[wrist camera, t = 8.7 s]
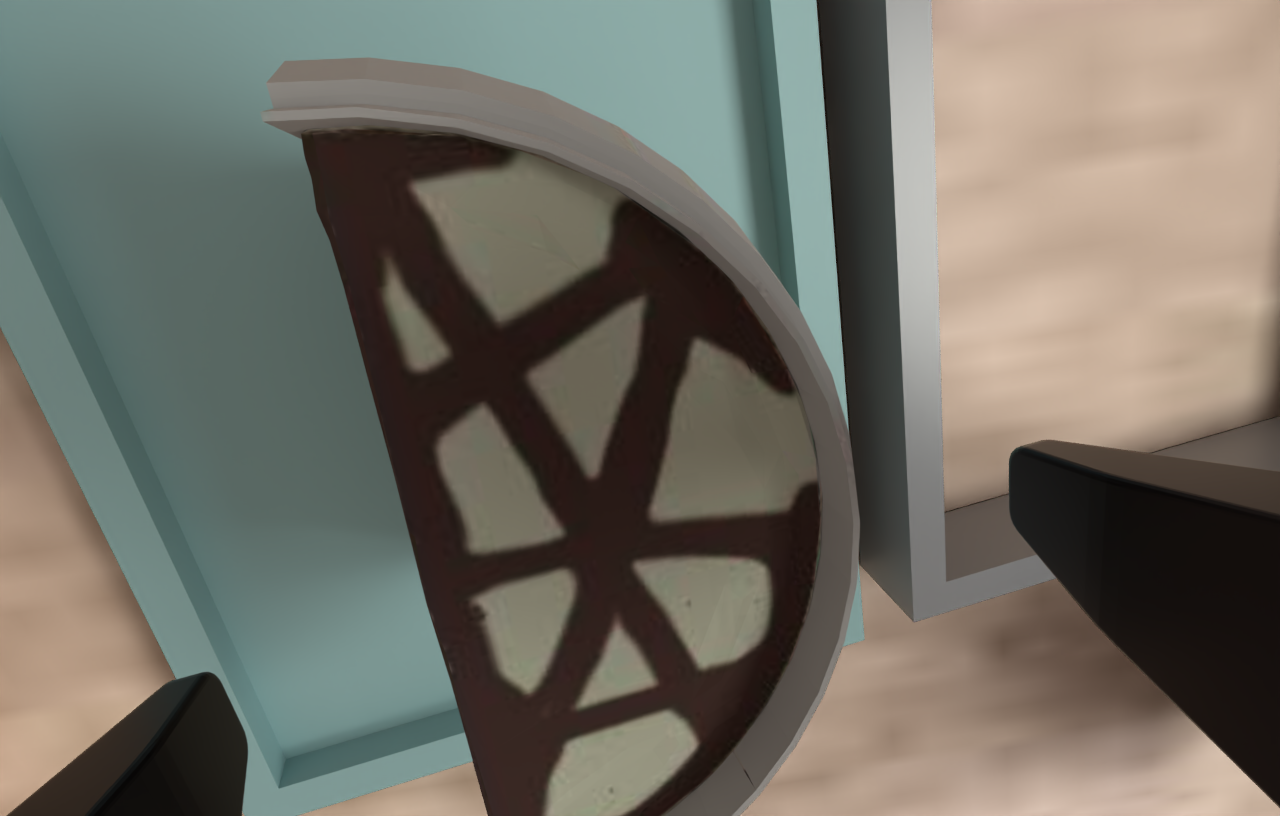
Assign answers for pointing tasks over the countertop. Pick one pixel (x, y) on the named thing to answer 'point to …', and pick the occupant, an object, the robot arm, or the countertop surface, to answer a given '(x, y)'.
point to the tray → (319, 317)
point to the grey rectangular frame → (918, 325)
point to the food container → (586, 438)
